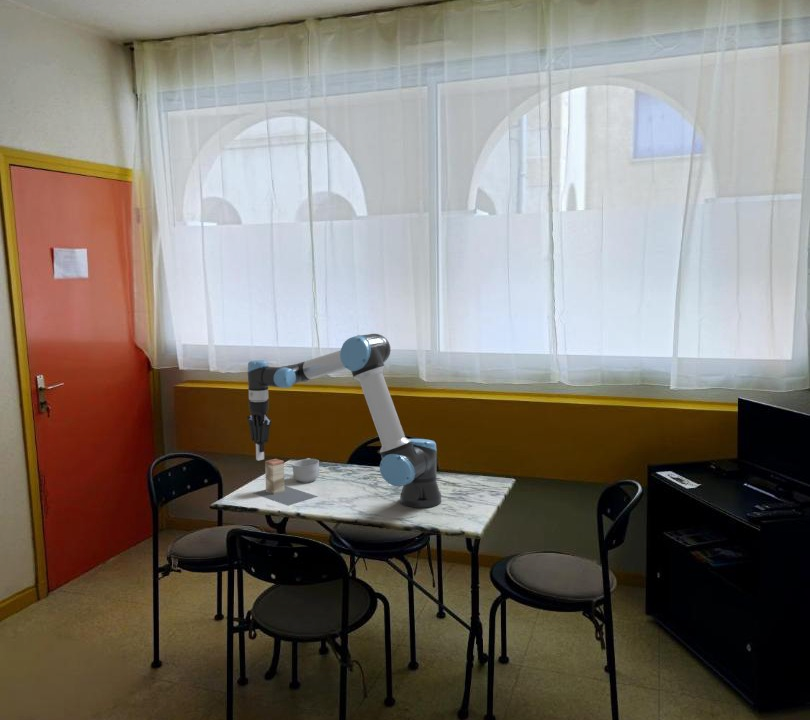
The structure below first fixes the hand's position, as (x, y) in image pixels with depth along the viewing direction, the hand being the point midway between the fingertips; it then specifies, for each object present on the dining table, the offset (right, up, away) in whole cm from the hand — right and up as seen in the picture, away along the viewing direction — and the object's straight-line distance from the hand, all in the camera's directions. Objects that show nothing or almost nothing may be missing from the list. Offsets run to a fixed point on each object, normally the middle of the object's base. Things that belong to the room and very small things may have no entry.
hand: (260, 459), depth 266 cm
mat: (+11, -12, -9) cm, 19 cm away
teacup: (+17, -10, +12) cm, 23 cm away
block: (+7, -12, -5) cm, 14 cm away
